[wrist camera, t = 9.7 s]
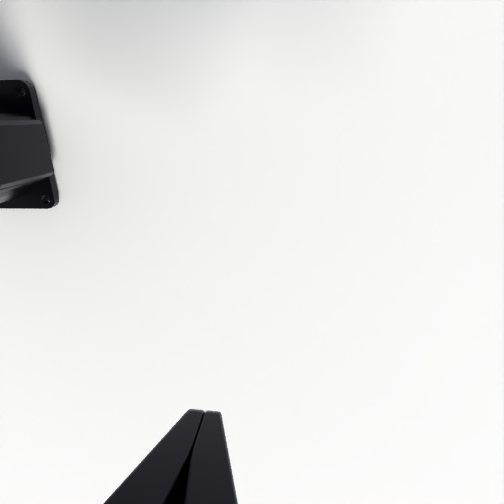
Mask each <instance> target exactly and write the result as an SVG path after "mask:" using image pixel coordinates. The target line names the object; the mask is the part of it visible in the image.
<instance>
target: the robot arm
mask: <svg viewBox="0 0 504 504" xmlns="http://www.w3.org/2000/svg"><path fill="white" fill-rule="evenodd" d="M22 87H23V88H24V89H25V95H23V94H22V92H21V88H22ZM53 172H54V169H53V165H52V160H51V156H50V151H49V147H48V142H47V137H46V133H45V128H44V125H43V124H42V120H41V115H40V111H39V106H38V102H37V97H36V93H35V89H34V87H33V86H32V85H31V83H29V82H27V81H22V80H0V208H38V209H48V208H52V207H55V206H56V205H57V204H58V202H59V197H58V193H57V188H56V184H55V179H54V174H53ZM46 196H48V197H49V198H50V202H48V201H47V199H46ZM104 504H238V502H237V497H236V491H235V486H234V480H233V475H232V470H231V464H230V459H229V453H228V448H227V442H226V437H225V432H224V426H223V421H222V415H221V413H220V412H218V411H206V412H204V411H203V410H197V409H189V410H188V411H187V412H186V413H185V414H184V415H183V416H182V417H181V419H180V420H179V421H178V422H177V423H176V424H175V425H174V426H173V427H172V428H171V430H170V431H169V432H168V433H167V434H166V435H165V436H164V437H163V438H162V440H161V441H160V442H159V443H158V444H157V445H156V446H155V447H154V448H153V450H152V451H151V452H150V453H149V454H148V455H147V456H146V457H145V458H144V459H143V461H142V462H141V463H140V464H139V465H138V466H137V467H136V468H135V469H134V471H133V472H132V473H131V474H130V475H129V476H128V477H127V478H126V479H125V480H124V482H123V483H122V484H121V485H120V486H119V487H118V488H117V489H116V490H115V492H114V493H113V494H112V495H111V496H110V497H109V498H108V499H107V500H106V501H105V503H104Z"/></svg>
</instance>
